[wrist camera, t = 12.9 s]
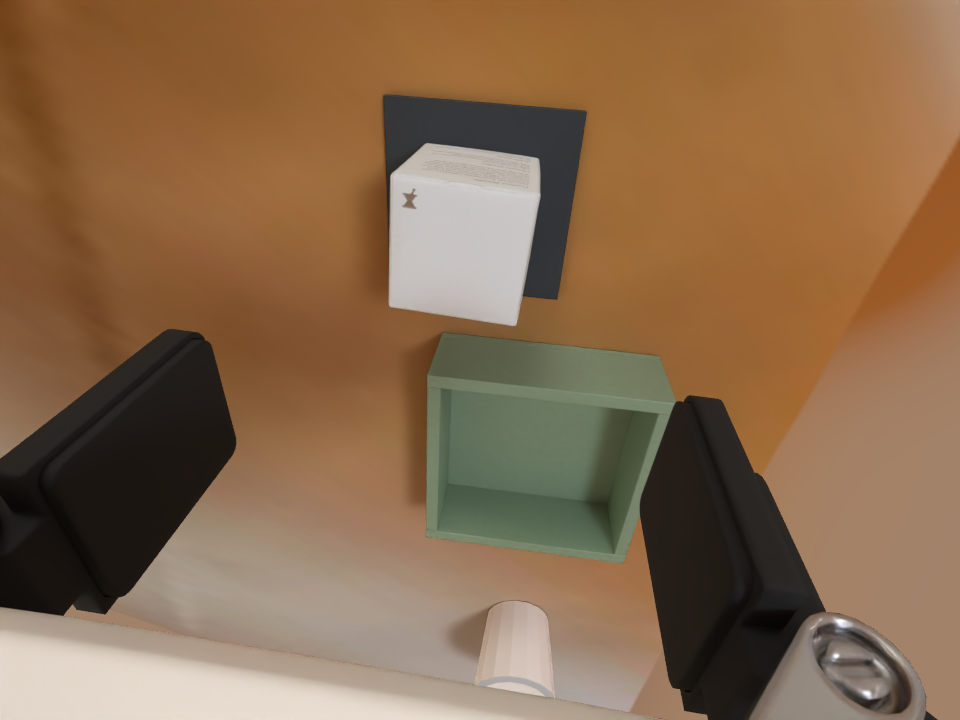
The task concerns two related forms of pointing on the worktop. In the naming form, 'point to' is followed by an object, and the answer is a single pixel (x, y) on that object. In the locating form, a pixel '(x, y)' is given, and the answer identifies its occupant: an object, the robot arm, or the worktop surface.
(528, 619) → the shot glass
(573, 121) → the mat
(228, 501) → the worktop surface
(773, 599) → the robot arm
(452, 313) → the product box
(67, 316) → the worktop surface
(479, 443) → the green square tray
